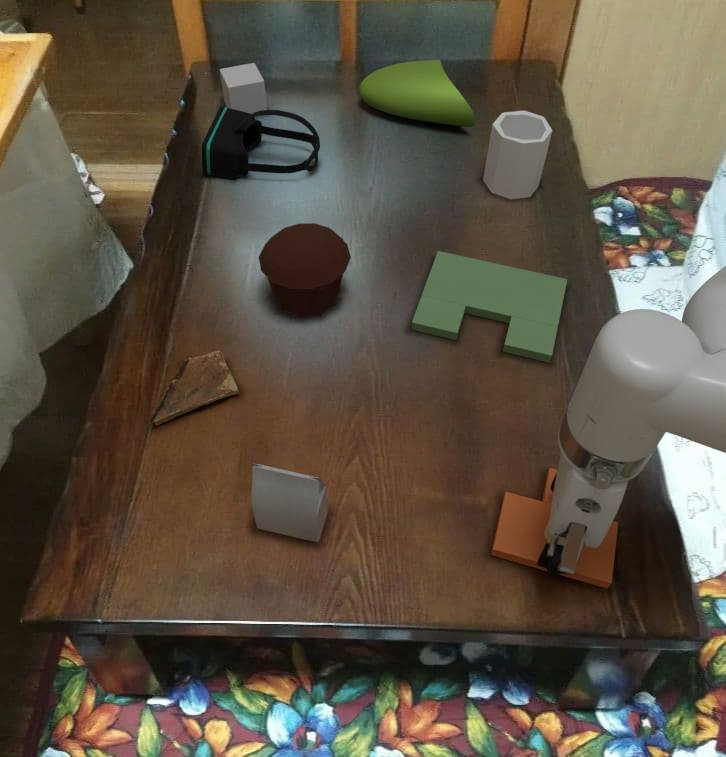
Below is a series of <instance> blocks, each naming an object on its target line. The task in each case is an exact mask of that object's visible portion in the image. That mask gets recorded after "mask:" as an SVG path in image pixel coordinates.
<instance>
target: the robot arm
mask: <svg viewBox="0 0 726 757" xmlns="http://www.w3.org/2000/svg"><path fill="white" fill-rule="evenodd" d="M681 316H682V317H681V320H680V319H679V318H677V317H675V316H673V315H671V314H669V313H667V312H663V311H660V310H656V309H649V308H636V309H630V310H626V311H623V312H621V313H618V314H616V315H614V316H613V317H612V318H610V319H609V320H608V321H607V322H606V323H605V324H604V325H603V326H602V327H601V329H600V331H599V332H598V334H597V336H596V338H595V341H594V343H593V345H592V348H591V350H590V352H589V355H588V357H587V360H586V363H585V365H584V367H583V370H582V372H581V375H580V377H579V379H578V382H577V383H576V386H575V389H574V392H573V394H572V397H571V399H570V401H569V404H568V406H567V408H566V412H565V413H564V416H563V418H562V421H561V423H560V426H559V428H558V431H557V444H558V448H559V451H560V458H559V462H558V466H557V469H556V470H557V473H556V475H555V477H554V479H553V482H552V484H551V491H552V492H553V498H552V505H551V513H550V519H549V527H548V530H549V532H550V534H551V535H552V537H551V540H550V543H547V544H545V546H544V548H543V550H542V552H541V554H540V556H539V558H538V562H537V565H538V566H540V567H544V568H546V570H547V571H546V572H548V573H551V574H554V575H558V574H559V576H561V575H560V574H563V573H564V574H571V575H573V574H574V570H575V568H576V567H575V566H576V564H577V562H578V559H579V556H580V553H581V550H582V547H583V544H584V542H585V545H586V547H591V548H597V547H598V546H600V544H601V543H602V541H603V539H604V538H605V536H606V534H607V532H608V530H609V528H610V526H611V524H612V522H613V521H615V518H616V516H617V514H618V511H619V509H620V507H621V505H622V502H623V499H624V496H625V494H626V491H627V487H628V484H629V481H630V480H632V479H634V478H635V477H637V476H638V475H639V474H640V473H641V472H642V471H643V470H644V468H645V467H646V465H647V464H648V462H649V461H650V459H651V457H652V456H653V453H654V452H655V451H656V449H657V447H658V445H659V444H660V442H661V440H662V439H663V437H664V436H665V434H666V433H668V434H670V435H674V436H677V437H680V438H681V439H685V440H688V441H691V442H693V443H696V444H699V445H702V446H704V447H707V448H710V449H712V450H716V451H719V452H721V453H725V454H726V265H725V266H724V267H722V268H721V269H720V270H718V271H717V272H716V273H715V274H713V275H712V276H711V277H709V278H708V279H707V280H706V281H705V282H704V283H702V285H701V286H700V287H699V288H698V289H697V290H696V291H694V293H693V294H692V295H691V297H690V299H689V300H688V301H687V303H686V305H685V306H684V310H683V312H682V315H681ZM569 523H570V524H569ZM568 525H569V527H568ZM559 536H561V537H564V538H566V540H565V544H564V546H563V545H559V544H557V543H558V540H559Z"/></svg>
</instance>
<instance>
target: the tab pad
mask: <svg viewBox="0 0 726 757" xmlns="http://www.w3.org/2000/svg"><path fill="white" fill-rule="evenodd" d="M557 470H558V469H555V468H552V467H549V469H548V471H547V473H546V477H545V483H544V488H543V494H542V499H541V500H538V499H535V498H531V497H527V496H523V495H519V494H516V493H513V492H509V491H505V492H504V494H503V498H502V502H501V506H500V507H501V508H500V511H499V516H498V520H497V526H496V530H495V535H494V539H493V544H492V549H491V553H490V555H491V556H493V557H496V558H500V559H504V560H507V561H510V562H514V563H517V564H520V565H524V566H528V567H531V568H535V569H538V570H541V571H545V572H548V571H547V570H546V568H544V567H540V566H538V565H537V562H538V558H539V556H540V554H541V552H542V550H543V548H544V546H545V544H547V543H550V540H551V537H552V535H551V534H550V532H549V530H548V527H549V519H550V513H551V505H552V498H553V492H552V491H551V484H552V482H553V479H554V477H555V475H556V473H557ZM569 524H570V523H569ZM568 527H569V525H568ZM618 529H619V521H615V520H613V522H612V524H611V526H610V528H609V530H608V532H607V534H606V536H605V538H604V539H603V541H602V543H601V544H600V546H598V547H597V548H591V547H586V545H585V542H584V544H583V547H582V550H581V553H580V556H579V559H578V562H577V564H576V566H575V567H576V568H575V570H574V574H573V575H571V574H564V573H563V574H560V575H559V574H557V575H559V576H562V577H566V578H569V579H573V580H576V581H579V582H583V583H586V584H590V585H594V586H596V587H600V588H603V589H607V590H608V589H609V588H610V586H611V585H612V583H613V574H614V565H615V556H616V547H617V538H618ZM565 540H566V538H564V537H561V536H559V540H558V543H557V544H559V545H563V546H564V544H565Z"/></svg>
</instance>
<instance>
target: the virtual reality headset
mask: <svg viewBox="0 0 726 757" xmlns="http://www.w3.org/2000/svg"><path fill="white" fill-rule="evenodd" d="M259 116H278V117H282V118H288V119H291V120H294V121H297V122H298V123H300V124H302V125H303V126H304V127H305V128H307V129H308V130H309V131H310V133H312V134H310V133H306V132H300V131H296V130H290V129H282V128H276V127H270V126H265V125H262V124H263V123H262V122H261V120H260V119H259V120H258V119H256V117H259ZM262 135H265V136H270V137H277V138H282V139H283V138H284V139H288V140H289V139H290V140H295V141H300V142H305V143H308V144H310V145H311V146H312V148H313V150H312V152H311V153H310V155H309V156H308V158H307V159H305V160H303V162H301V163H297V164H292V165H291V164H289V165H282V164H281V165H279V164H269V163H253V162H249V152H250V151H251V150H253V149H255V148H257V147H258V146H260V145H261V143H262ZM320 140H321V139H320V136H319V133H318V132H317V130H316V128H315V127H314V126H313V124H311V123H310V122H309V121H308V120H307V119H306V118H304V117H303V116H300V115H299V114H296V113H293V112H290V111H285V110H279V109H267V110H261V111H258V112H255V113H253V114H250V113H246V112H243V111H239V110H235V109H231V108H227V106H223V105H220V107H219V108H218V110H217V112H216V114H215V116H214V117H213V120H212V123H211V124H210V127H209V129H208V131H207V132H206V135H205V137H204V139H203V140H202V144H201V164H202V165H201V166H202V167H201V168H202V173H203V174H206V175H212V176H218V177H223V178H230V179H236V178H238V177H239V176H241V175H243V176H248V174H249V172H254V173H266V174H267V173H268V174H295V173H299V172H302V171H307V172H308V173H310V172H313V171H314V170H315V168H316V166H317V164H318V162H319V152H320V149H321V141H320ZM313 160H314V165H311V163H312V162H313Z"/></svg>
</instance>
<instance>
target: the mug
mask: <svg viewBox="0 0 726 757" xmlns="http://www.w3.org/2000/svg"><path fill="white" fill-rule="evenodd" d="M552 133H553V129H552V128H551V126H550V124H549V123H548V120H547V119H546V118H545V116H543V115H540V114H536V113H534V112H530V111H528V110H515V111H514V110H513V111H505V112H502V113H501V114H500V115H499V116H498V117H497V118H496V120H495V121H493V123H492V126H491V130H490V137H489V141H488V147H487V153H486V159H485V166H484V173H483V177H482V181H483V183H484V184H485V186H486V187H487V188H488V190H489V191H490V193H491V194H494V195H496V196H500V197H503V198H505V199H508V200H517V199H518V200H519V199H527V198H531V197H532V196H533V194H534V193H535V192H536V190H537V189H538V188H539V186H540V182H541V179H542V174H543V171H544V166H545V162H546V158H547V154H548V151H549V146H550V141H551V138H552Z"/></svg>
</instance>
